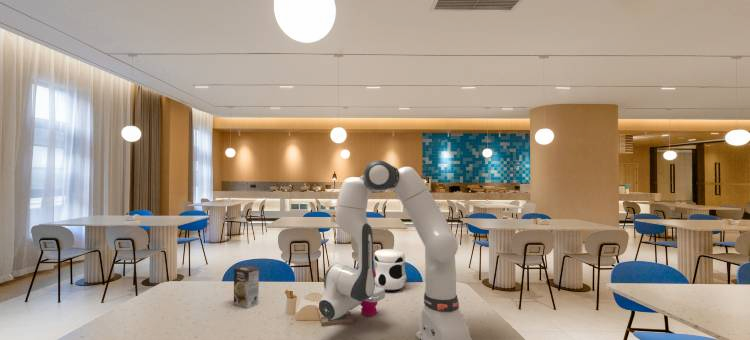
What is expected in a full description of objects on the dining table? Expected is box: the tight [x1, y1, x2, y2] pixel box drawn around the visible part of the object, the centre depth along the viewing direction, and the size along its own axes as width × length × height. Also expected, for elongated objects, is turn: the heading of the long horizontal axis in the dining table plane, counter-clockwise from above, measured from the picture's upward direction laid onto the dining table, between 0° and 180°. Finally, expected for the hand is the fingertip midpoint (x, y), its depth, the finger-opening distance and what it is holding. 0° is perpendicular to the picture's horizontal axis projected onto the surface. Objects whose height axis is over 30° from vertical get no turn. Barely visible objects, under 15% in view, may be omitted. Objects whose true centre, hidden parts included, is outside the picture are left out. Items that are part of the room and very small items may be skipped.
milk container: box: [373, 248, 408, 292], centre depth 170 cm, size 17×17×18 cm
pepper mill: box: [360, 268, 379, 317], centre depth 139 cm, size 7×7×20 cm
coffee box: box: [233, 265, 260, 309], centre depth 148 cm, size 9×6×16 cm
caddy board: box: [319, 298, 354, 327], centre depth 138 cm, size 20×12×4 cm, turn 16°
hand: (369, 285), depth 140 cm, fingers closed on pepper mill, 5 cm apart
